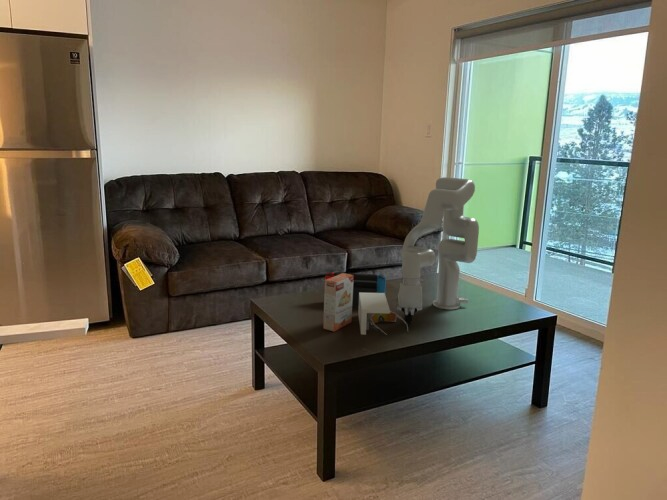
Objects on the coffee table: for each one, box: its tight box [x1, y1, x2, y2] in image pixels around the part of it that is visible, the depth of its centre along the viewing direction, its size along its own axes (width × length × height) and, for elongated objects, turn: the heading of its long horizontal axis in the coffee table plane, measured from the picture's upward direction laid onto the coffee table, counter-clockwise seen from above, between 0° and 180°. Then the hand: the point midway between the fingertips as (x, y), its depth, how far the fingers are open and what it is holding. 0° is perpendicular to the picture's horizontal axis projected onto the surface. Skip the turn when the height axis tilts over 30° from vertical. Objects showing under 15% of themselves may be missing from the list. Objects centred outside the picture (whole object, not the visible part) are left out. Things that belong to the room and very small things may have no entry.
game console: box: [324, 271, 387, 308], centre depth 244 cm, size 28×6×15 cm, turn 84°
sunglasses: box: [369, 310, 409, 335], centre depth 218 cm, size 14×15×5 cm
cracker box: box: [322, 272, 354, 332], centre depth 215 cm, size 14×6×21 cm, turn 148°
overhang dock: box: [357, 292, 391, 336], centre depth 219 cm, size 11×22×10 cm, turn 0°
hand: (408, 323), depth 220 cm, fingers closed
